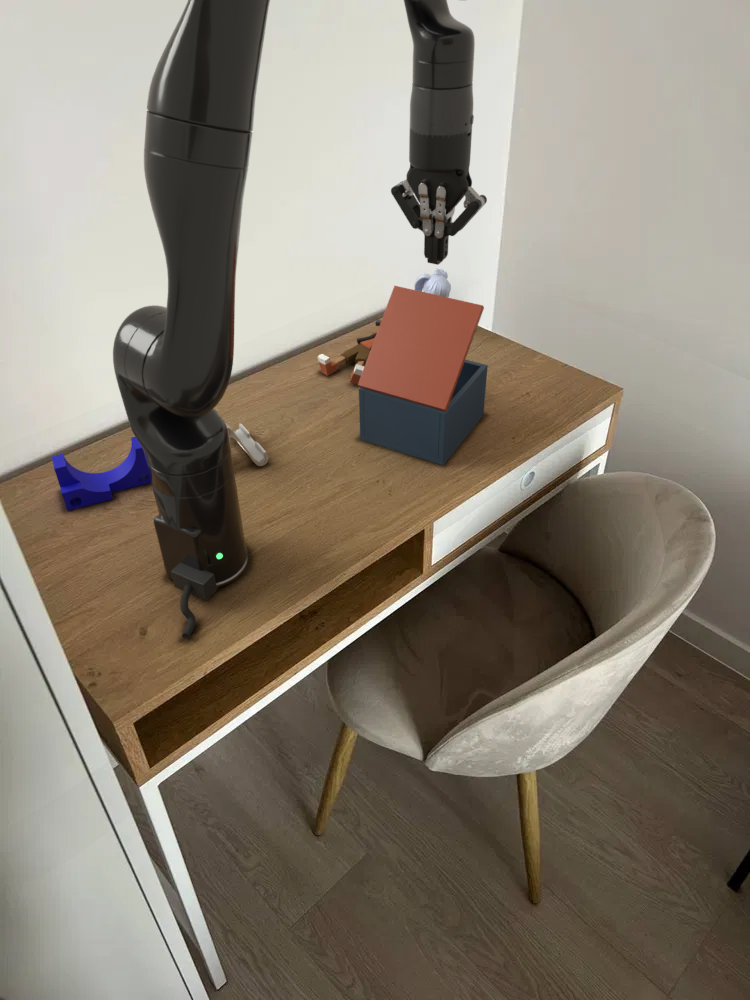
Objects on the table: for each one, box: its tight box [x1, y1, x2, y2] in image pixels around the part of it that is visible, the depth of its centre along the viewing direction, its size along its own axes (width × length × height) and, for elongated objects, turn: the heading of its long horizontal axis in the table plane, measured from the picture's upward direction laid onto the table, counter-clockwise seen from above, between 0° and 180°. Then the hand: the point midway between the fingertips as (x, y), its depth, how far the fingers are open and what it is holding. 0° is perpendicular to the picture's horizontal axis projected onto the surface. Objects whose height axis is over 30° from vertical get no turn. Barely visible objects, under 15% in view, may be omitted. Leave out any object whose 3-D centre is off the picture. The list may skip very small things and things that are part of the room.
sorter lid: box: [357, 285, 485, 411], centre depth 113 cm, size 15×14×1 cm
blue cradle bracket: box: [51, 436, 152, 512], centre depth 110 cm, size 12×4×6 cm, turn 114°
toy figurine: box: [413, 268, 452, 298], centre depth 141 cm, size 7×6×12 cm
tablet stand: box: [224, 420, 269, 467], centre depth 115 cm, size 9×8×8 cm
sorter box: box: [358, 359, 489, 466], centre depth 120 cm, size 15×14×9 cm
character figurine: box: [316, 318, 382, 386], centre depth 138 cm, size 12×5×18 cm
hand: (435, 261), depth 109 cm, fingers closed
